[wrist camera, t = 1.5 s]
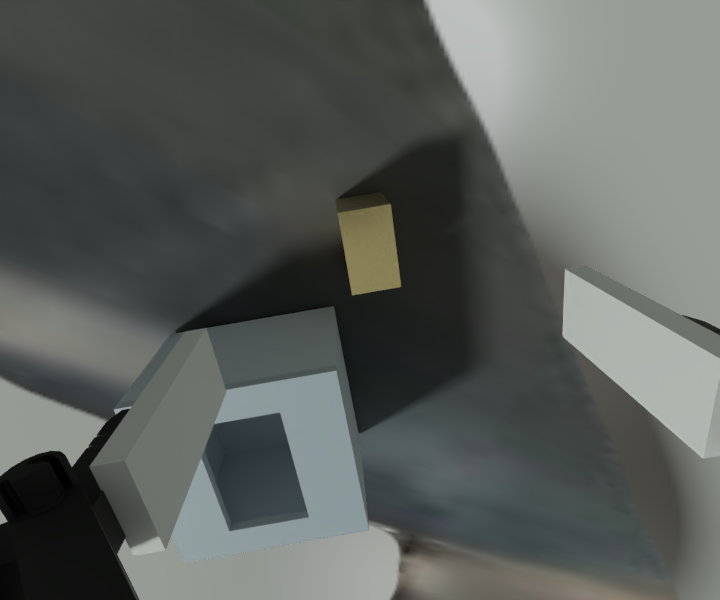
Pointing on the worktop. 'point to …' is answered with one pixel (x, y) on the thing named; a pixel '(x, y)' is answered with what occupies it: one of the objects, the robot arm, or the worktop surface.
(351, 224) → the block
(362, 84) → the worktop surface
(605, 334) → the robot arm
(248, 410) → the grey square hollow box
